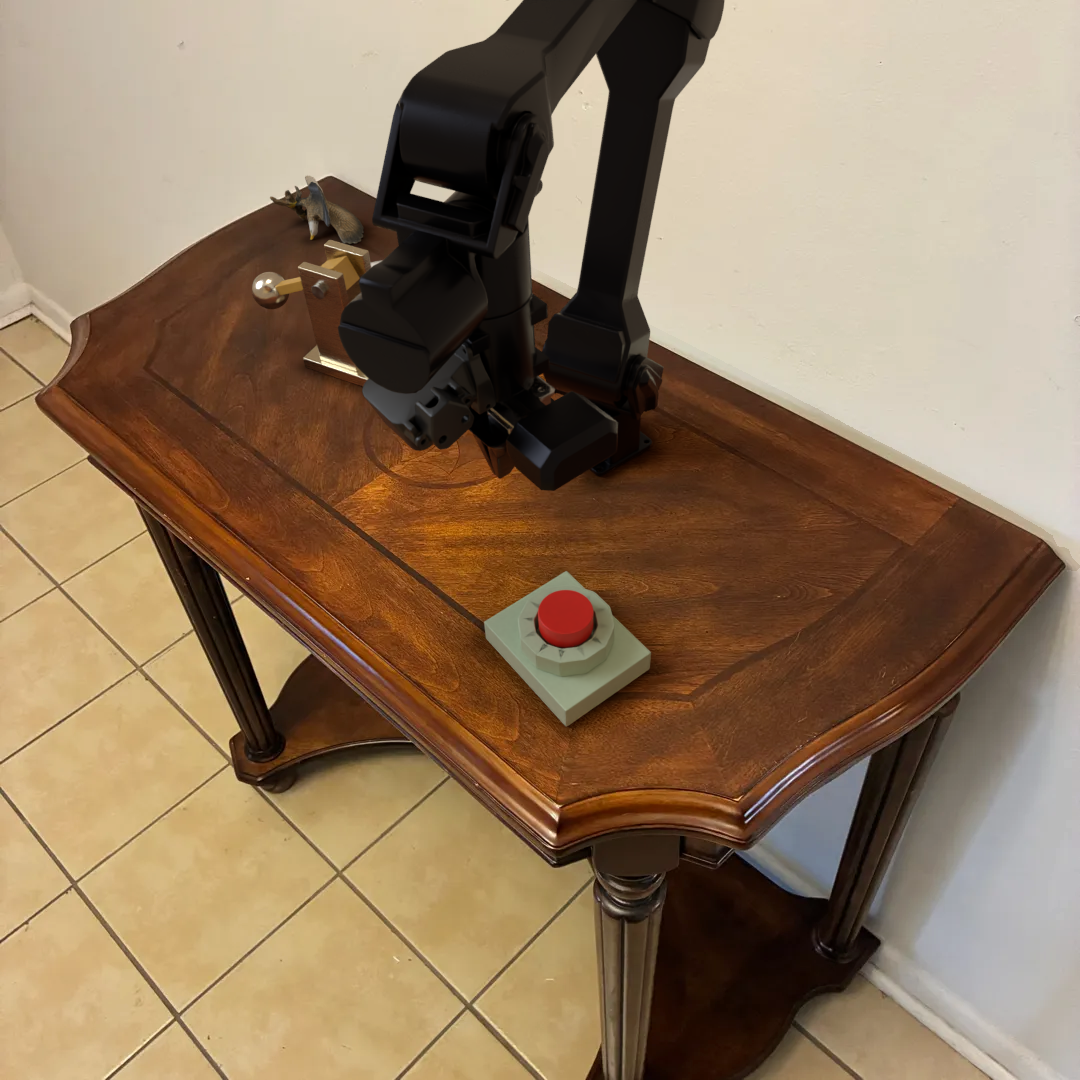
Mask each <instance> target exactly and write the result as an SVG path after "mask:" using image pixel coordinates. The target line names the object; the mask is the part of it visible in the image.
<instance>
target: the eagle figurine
mask: <svg viewBox="0 0 1080 1080" xmlns="http://www.w3.org/2000/svg"><path fill="white" fill-rule="evenodd" d="M304 179H305V183H306V185H307V188H308V191H309V195H308V196H307V197H302V194H303V193H302V191H301V190H300V188H299V187H298V186H297V185H294V189H295V193H296V194H295V197H294V195H293V194H292V193H291V191H290V190H289V189H286V190H285V191H284V198H285V200H283V199H279V198H276V197H274V196H270V197H269V199H270V200H271V201H272V202H273V203H274V204H275V205H278V206H282V207H286V208H289V209H291V211H293V212H295V214H296V216H297V217H299V219H301V221H304V222H305V221H306V217H307V222H308V226H309V233H310V238H309V240H311V241H313V240H314V238H315V236H316V235H318V233H319V224H320V221H323V222H324V224H325V226H326V227H328V228H329V227H330V225H331V226H332V227H333V228H334V230H335V231H336V233H337V235H338V237H339V239H340V241H341V243H343V244H348V245H352V244H358V243H360V242H362V238H364V232H365V231H364V225H363V224H362V221H360V219H359V218H358V217H357V216H356V215H355V214H353V213H352V212H351V211H349V210H348V209H347V208H345V207H343V206H341V205H339V204H337V203H335V202H333V201H330V200H328V199H327V198H326V196H325V194H324V190H323V189H322V187H321V186H320V184H319V182H318V181H317V180H316V178H315V177H314V176H312V175H308V174H307V175H305V176H304ZM303 207H304V208H305V209H303Z"/></svg>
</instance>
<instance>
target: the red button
mask: <svg viewBox="0 0 1080 1080" xmlns="http://www.w3.org/2000/svg"><path fill="white" fill-rule="evenodd" d="M593 615H594V611H593V606H592V604H591V602H590V601H589V599H588V598H587V597H585V596H584V595H583V594H581V593H579V592H576V591H572V590H560V591H556V592H553V593H551V594H549V595H548V596H546V597H545V598H544V599H543V600H542V602H541V603H540V605H539V608H538V622H539V631H540V633H541V635H542V637H543V638H544V639H545V640H546V641H547V642H549V643H550V644H552V645H554V646H557V647H563V648H569V647H574V646H578V645H580V644H582V643H583V642H585V641H586V640H587V639H588V638H589V636H590V635H591V633H592V631H593Z"/></svg>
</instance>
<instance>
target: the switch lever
mask: <svg viewBox="0 0 1080 1080" xmlns="http://www.w3.org/2000/svg"><path fill="white" fill-rule="evenodd" d="M319 266H320V267H324V268H327V269H330V270H334V271H337V272H340V273H343V276H344V280H345V285H346V290H348V289H349V288H350V287H351V286H352V285H353V284H354V283H356V282H357V281H358V280H359V279H360V278H359V276H358V274H357V272H356V271H355V269H354V267H353V266H352V264H351V262H350V260H349V259H348V257H347V256H344V257H340V258H336V259H332V260H327V259H326V261H325V262H324V263H322V264H321V265H319ZM302 291H303V287H302V283H301V279H300V276H298V277H294V278H288V279H285V278H284V277H283V276H282V275H281V274H280V273H277V272H274V271H265V272H262V273H259V275H257V276H256V277H255V278H254V280H253V282H252V284H251V295H252V298H253V299H254V302H256V303H257V305H259V306H260V307H261V308H264V309H267V310H277V309H279V308H282V307H283V306H284V305H285V304H286V303H287V301H288V300H289V297H290V294H293V293H298V292H302Z"/></svg>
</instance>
